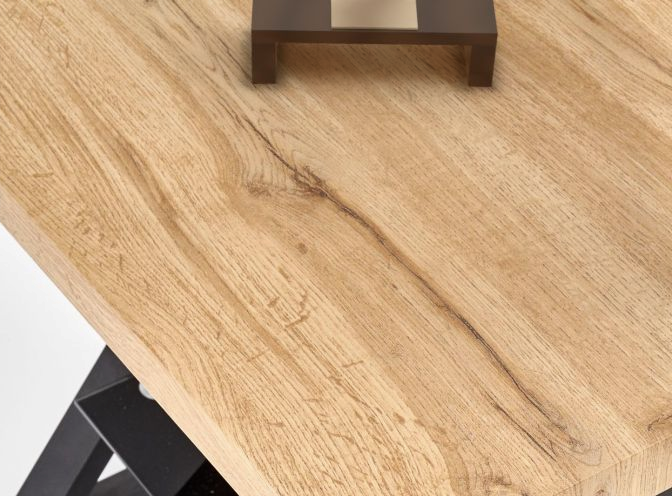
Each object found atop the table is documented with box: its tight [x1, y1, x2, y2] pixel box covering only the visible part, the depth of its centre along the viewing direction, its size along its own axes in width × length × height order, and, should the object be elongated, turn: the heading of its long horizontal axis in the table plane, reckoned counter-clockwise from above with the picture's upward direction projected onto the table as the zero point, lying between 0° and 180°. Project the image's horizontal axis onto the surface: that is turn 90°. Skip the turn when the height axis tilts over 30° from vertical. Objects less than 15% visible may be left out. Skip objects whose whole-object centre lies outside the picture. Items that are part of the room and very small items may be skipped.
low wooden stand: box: [250, 0, 499, 88], centre depth 132 cm, size 20×8×5 cm, turn 90°
